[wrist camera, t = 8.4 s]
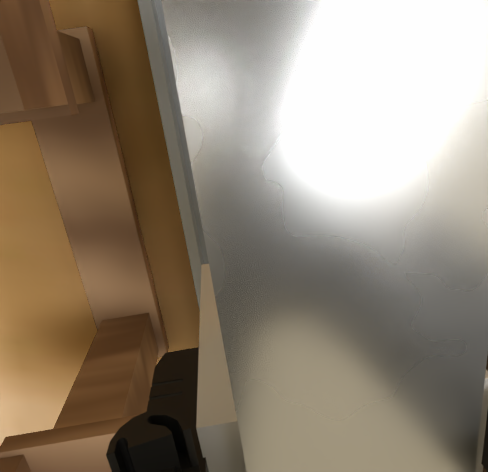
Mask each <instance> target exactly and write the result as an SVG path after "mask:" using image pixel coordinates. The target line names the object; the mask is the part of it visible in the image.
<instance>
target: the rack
mask: <svg viewBox="0 0 488 472" xmlns="http://www.w3.org/2000/svg"><path fill="white" fill-rule="evenodd" d="M25 121H32V124H33V127H34V131H35V134H36V137H37V140H38V143H39V146H40V150H41V153H42V156H43V159H44V162H45V166H46V169H47V172H48V175H49V178H50V181H51V185H52V188H53V191H54V194H55V197H56V200H57V204H58V207H59V210H60V213H61V216H62V219H63V223H64V226H65V229H66V232H67V235H68V238H69V242H70V245H71V248H72V251H73V254H74V257H75V261H76V264H77V267H78V270H79V273H80V276H81V280H82V283H83V286H84V289H85V292H86V296H87V299H88V302H89V305H90V308H91V311H92V315H93V318H94V321H95V324H96V327H97V330H98V331H97V333H96V335H95V338H94V340H93V342H92V344H91V347H90V349H89V351H88V353H87V355H86V358H85V360H84V362H83V364H82V366H81V369H80V371H79V373H78V375H77V377H76V380H75V382H74V384H73V386H72V389H71V391H70V393H69V395H68V397H67V400H66V402H65V404H64V406H63V408H62V411H61V413H60V415H59V417H58V419H57V422H56V424H55V426H54V428H53V429H51V430H45V431H39V432H33V433H27V434H21V435H15V436H9V437H6V438H5V439H4V441H3V443H2V445H1V446H0V472H112V471H111V468H110V465H109V462H108V459H107V456H106V453H107V450H108V446H109V443H110V441H111V439H112V438H113V436H114V435H115V434H116V432H117V431H118V430H119V428H120V427H122V426H123V425H124V424H125V423H127V422H128V421H129V420H130V419H132V418H133V417H136V416H138V415H140V414H142V413H144V412H146V411H147V406H148V401H149V395H150V390H151V387H152V379H153V374H154V369H155V367H156V362H157V357H163V355H164V354H165V353H168V349H169V345H168V341H167V337H166V333H165V328H164V324H163V320H162V316H161V312H160V308H159V304H158V300H157V295H156V291H155V287H154V283H153V279H152V275H151V271H150V267H149V262H148V258H147V254H146V250H145V246H144V242H143V238H142V233H141V229H140V225H139V221H138V217H137V213H136V209H135V205H134V200H133V196H132V192H131V188H130V184H129V180H128V176H127V172H126V167H125V163H124V159H123V155H122V151H121V147H120V143H119V138H118V134H117V130H116V126H115V122H114V118H113V114H112V110H111V105H110V101H109V97H108V93H107V89H106V85H105V81H104V77H103V72H102V68H101V64H100V60H99V56H98V52H97V48H96V43H95V39H94V35H93V31H92V29H91V28H89V27H87V26H86V27H78V28H71V29H64V30H57V29H56V26H55V22H54V18H53V15H52V11H51V7H50V4H49V0H0V125H4V124H11V123H18V122H25Z"/></svg>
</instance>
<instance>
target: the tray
mask: <svg viewBox="0 0 488 472" xmlns="http://www.w3.org/2000/svg"><path fill="white" fill-rule="evenodd" d="M138 5H139V10H140V15H141V20H142V25H143V30H144V35H145V40H146V45H147V50H148V55H149V60H150V65H151V70H152V75H153V80H154V85H155V90H156V95H157V100H158V105H159V110H160V115H161V120H162V125H163V130H164V135H165V140H166V145H167V150H168V155H169V160H170V165H171V170H172V175H173V180H174V185H175V190H176V195H177V200H178V205H179V210H180V215H181V220H182V225H183V230H184V235H185V240H186V245H187V250H188V255H189V260H190V265H191V270H192V275H193V280H194V285H195V290H196V295H197V300H198V305H199V310H200V294H201V265H202V264H209V262H208V256H207V251H206V245H205V240H204V234H203V229H202V223H201V217H200V212H199V206H198V201H197V195H196V190H195V184H194V179H193V173H192V168H191V162H190V157H189V151H188V146H187V140H186V135H185V129H184V124H183V118H182V112H181V107H180V101H179V96H178V90H177V85H176V79H175V74H174V68H173V63H172V57H171V52H170V46H169V41H168V35H167V30H166V24H165V19H164V13H163V8H162V2H161V0H138Z"/></svg>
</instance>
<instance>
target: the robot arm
mask: <svg viewBox="0 0 488 472" xmlns="http://www.w3.org/2000/svg"><path fill="white" fill-rule="evenodd" d="M106 456H107V459H108V462H109V465H110V468H111V471H112V472H246V466H245V461H244V455H243V449H242V444H241V438H240V433H239V427H238V422H237V416H236V411H235V405H234V400H233V394H232V389H231V383H230V378H229V372H228V367H227V361H226V356H225V350H224V345H223V339H222V333H221V328H220V322H219V317H218V311H217V306H216V300H215V295H214V289H213V284H212V278H211V273H210V267H209V264H202V265H201V294H200V326H199V347H198V348H192V349H186V350H180V351H174V352H168V353H165V354H164V355H163V357H162V358H161V360H160V361H159V362H158V364H157V365H156V367H155V369H154V374H153V379H152V387H151V390H150V395H149V401H148V406H147V411H146V412H144V413H142V414H140V415H138V416H136V417H133V418H132V419H130V420H129V421H128V422H127V423H125V424H124V425H123V426H122V427H120V428H119V430H118V431H117V432H116V434H115V435H114V436H113V438H112V439H111V441H110V443H109V446H108V450H107V453H106ZM483 467H484V468H485V469H486V471H487V472H488V355H487V364H486V373H485V383H484V392H483V401H482V411H481V420H480V429H479V439H478V448H477V457H476V467H475V472H483Z"/></svg>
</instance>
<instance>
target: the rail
mask: <svg viewBox="0 0 488 472" xmlns="http://www.w3.org/2000/svg"><path fill="white" fill-rule="evenodd" d="M161 2H162V8H163V13H164V19H165V24H166V30H167V35H168V41H169V46H170V52H171V57H172V63H173V68H174V74H175V79H176V85H177V90H178V96H179V101H180V107H181V112H182V118H183V124H184V129H185V135H186V140H187V146H188V151H189V157H190V162H191V168H192V173H193V179H194V184H195V190H196V195H197V201H198V206H199V212H200V217H201V223H202V229H203V234H204V240H205V245H206V251H207V256H208V262H209V267H210V273H211V278H212V284H213V289H214V295H215V300H216V306H217V311H218V317H219V322H220V328H221V333H222V339H223V345H224V350H225V356H226V361H227V367H228V372H229V378H230V383H231V389H232V394H233V400H234V405H235V411H236V416H237V422H238V427H239V433H240V438H241V444H242V449H243V455H244V461H245V466H246V472H475V467H476V457H477V448H478V439H479V429H480V420H481V411H482V401H483V392H484V383H485V373H486V364H487V355H488V0H161Z"/></svg>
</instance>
